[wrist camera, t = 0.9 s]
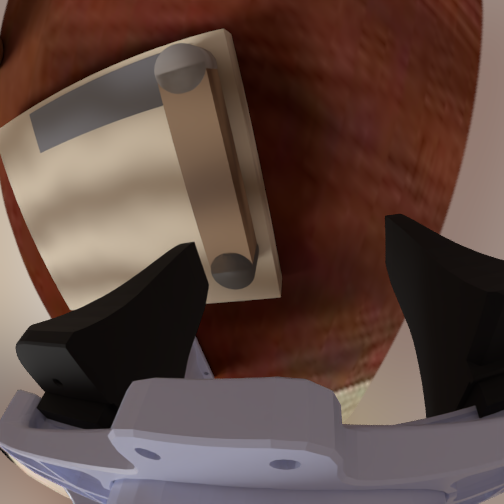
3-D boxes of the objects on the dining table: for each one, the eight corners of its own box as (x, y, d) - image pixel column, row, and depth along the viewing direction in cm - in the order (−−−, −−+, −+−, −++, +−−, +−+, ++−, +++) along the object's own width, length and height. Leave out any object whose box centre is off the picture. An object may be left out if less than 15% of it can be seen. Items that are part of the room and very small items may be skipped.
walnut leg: (167, 54, 15) (149, 52, 13) (211, 41, 14) (199, 36, 12) (224, 268, 22) (217, 291, 19) (262, 264, 21) (259, 287, 19)
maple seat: (282, 277, 25) (280, 298, 23) (82, 294, 29) (69, 310, 27) (231, 33, 16) (223, 28, 14) (13, 125, 20) (-7, 132, 18)
